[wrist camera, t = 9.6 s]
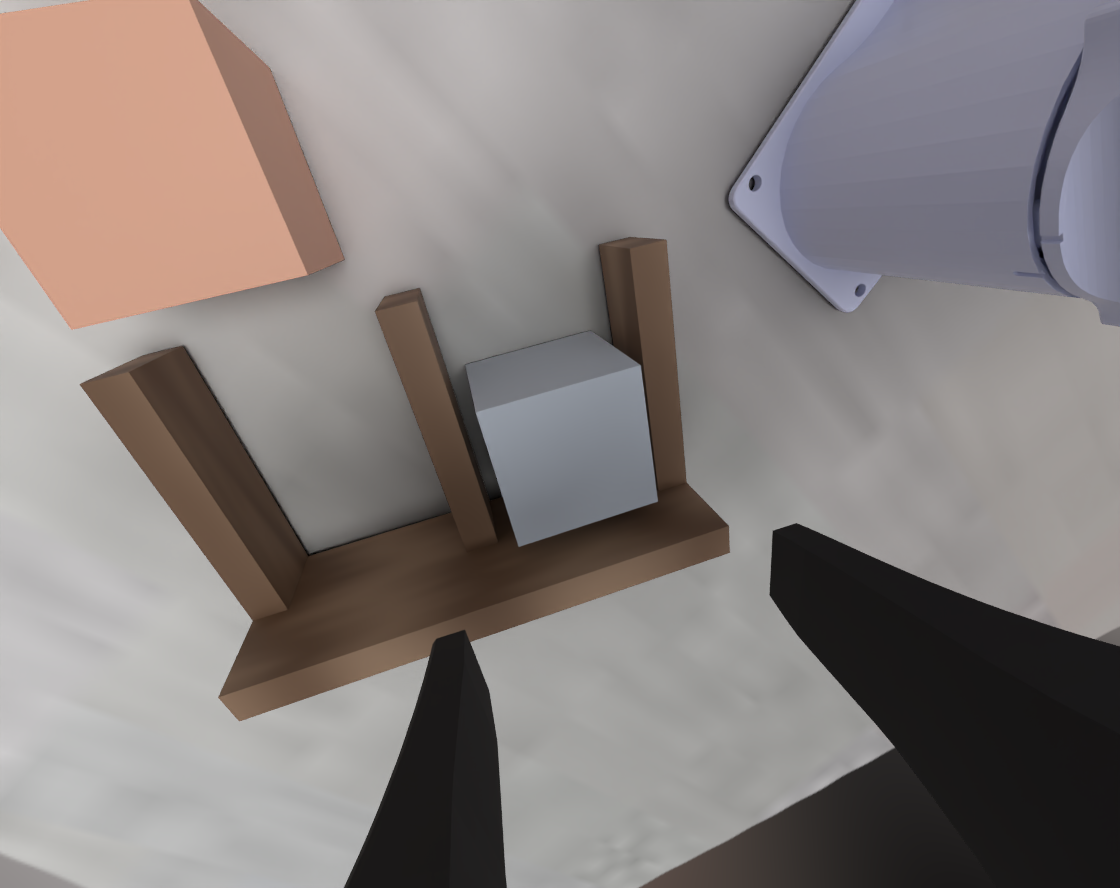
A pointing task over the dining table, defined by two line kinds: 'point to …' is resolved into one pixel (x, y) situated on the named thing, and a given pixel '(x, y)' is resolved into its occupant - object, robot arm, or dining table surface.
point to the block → (565, 433)
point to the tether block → (148, 160)
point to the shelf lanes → (419, 549)
